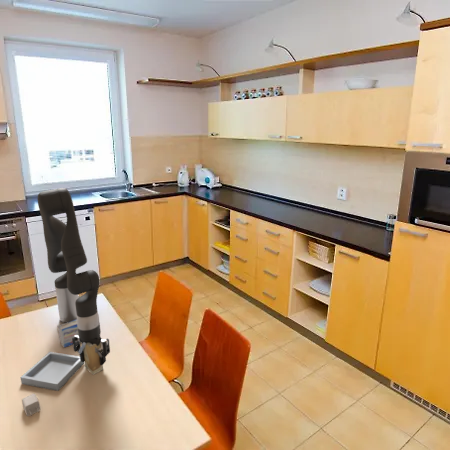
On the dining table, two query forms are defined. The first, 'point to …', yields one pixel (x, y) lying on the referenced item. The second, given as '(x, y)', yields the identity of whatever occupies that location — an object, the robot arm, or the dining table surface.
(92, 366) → the skincare box
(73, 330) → the medicine box
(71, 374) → the tray
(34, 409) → the usb wall charger
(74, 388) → the dining table surface
